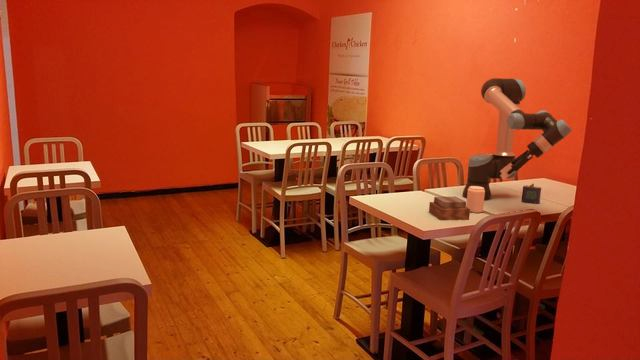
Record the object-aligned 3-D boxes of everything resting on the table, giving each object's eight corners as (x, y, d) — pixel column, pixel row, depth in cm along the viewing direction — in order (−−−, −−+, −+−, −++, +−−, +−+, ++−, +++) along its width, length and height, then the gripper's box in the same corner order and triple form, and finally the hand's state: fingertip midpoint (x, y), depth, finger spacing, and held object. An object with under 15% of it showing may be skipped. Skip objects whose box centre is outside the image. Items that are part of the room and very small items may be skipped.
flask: (539, 203, 280) (541, 183, 278) (539, 204, 277) (542, 184, 275) (520, 201, 282) (523, 182, 280) (521, 202, 280) (523, 183, 277)
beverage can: (463, 208, 262) (465, 185, 260) (479, 209, 263) (481, 185, 260) (469, 213, 254) (471, 189, 252) (485, 213, 255) (487, 189, 252)
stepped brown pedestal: (455, 211, 256) (457, 195, 255) (469, 219, 243) (470, 202, 241) (428, 212, 254) (430, 196, 252) (441, 220, 240) (442, 203, 238)
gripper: (546, 156, 231) (507, 186, 239) (542, 149, 255) (506, 177, 262) (535, 143, 232) (496, 173, 239) (531, 138, 255) (496, 165, 263)
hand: (501, 175), depth 251 cm, fingers open, 13 cm apart
